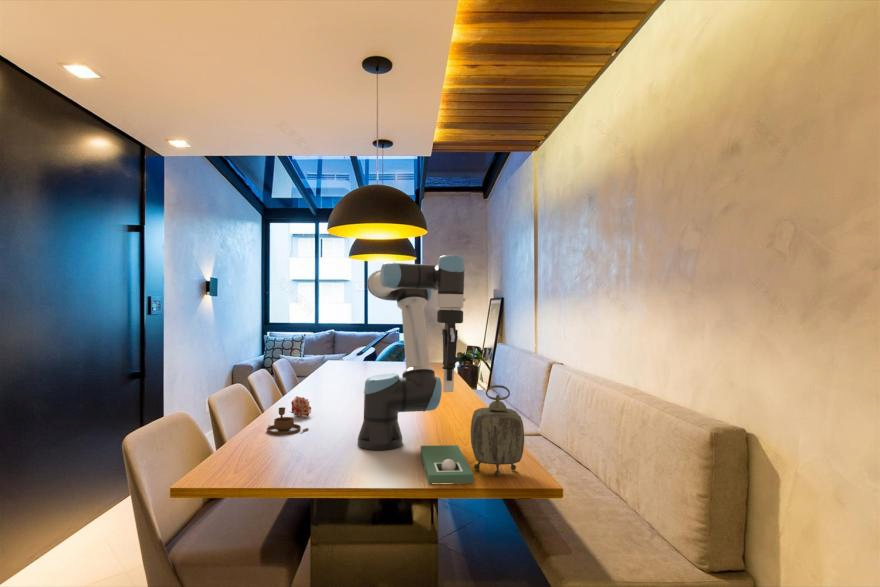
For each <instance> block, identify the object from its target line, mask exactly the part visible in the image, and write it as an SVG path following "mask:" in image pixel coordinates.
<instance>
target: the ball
mask: <svg viewBox="0 0 880 587" xmlns="http://www.w3.org/2000/svg"><path fill="white" fill-rule="evenodd" d="M455 468H456V465H455V462H454V461H453V460H451V459H446V460H444V461H443V463H442V470H443V471H455Z"/></svg>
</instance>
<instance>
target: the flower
mask: <svg viewBox="0 0 880 587" xmlns="http://www.w3.org/2000/svg"><path fill="white" fill-rule="evenodd" d="M290 403H291V404H290V405H291V411H288V412H289V413H291V414H292V415H293V416H295V417H297V418H298V419H299V418H300V417H303V416H305V417H308V416H309V415H310V414H312V406H310V400H309V399H308V398H307V399H306V398H305V397H301V396H294V399H293V400H292V401H291V402H290Z"/></svg>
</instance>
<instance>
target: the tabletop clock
mask: <svg viewBox="0 0 880 587" xmlns="http://www.w3.org/2000/svg"><path fill="white" fill-rule="evenodd" d="M496 388H499V389H500V388H501V389H503V390H506V391H507V393H508V394H507V395H505V396H503V397H500V395H499V394H496V395H495V397H493V396H491V395H489V394H488V392H489V391H490V390H491V389H496ZM510 394H511V392H510V390H509V388H507V386H504V385H500V384H499V385H498V384H497V385H496V384H495V385H490V386H489V387H488V388H487V389H486V390H485V395H486V397H487V398H488V399H489V400H492V401H491V402H490V403H489V406H488V407H480V408H478V409H475V410H474V411H473V414H472V417H471V424H470V443H471V448H472V453H473V455H474V458H475V460H476V462H477V463H475V464H474V465H473V468H474V470H475V471H476V470H479V469H480V468H481V467H480V465H481V463H482V464H487V465H495V466H496V467H495V468H496V470H495V471H494V475H495V477H500V476H501V471H500V468H499V465H504V466H505V465H510V469H511V471H515V470H516V469H517V465H516V464H517V463H520V462H521V460H522V458H523V454H524V447H525V430H524V422H523V419H522V417H521V415H520V414H519V413H518V412H517V411H516V410H514V409H512V408H508V407H507V406H506V405H505V403H504V402H503V400H506V399H508V398H509V397H510V396H511V395H510Z"/></svg>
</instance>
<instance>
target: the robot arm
mask: <svg viewBox="0 0 880 587" xmlns="http://www.w3.org/2000/svg"><path fill="white" fill-rule="evenodd" d="M465 271H466V268H465V259H464V257H463V256H461V255H454V254H452V255H451V254H450V255H449V254H447V255H446V254H445V255H441V256H439V258H438V263H437V264H424V263H422V264H421V263H405V262H404V263H402V262H393V261H392V262H384V263H383V264H382V265H381V268H380V269H379V270H376V271H374V272H372V273H371V274H370V275H369V276H368V279H367V281H366V282H367V283H366V284H367V285H366V286H367V289H368V291H369V293H370V294H371V295H373V297H375V298H377V299H381V300H383V301H391V302H392V301H393V302H396V303H397V304H396V306H397V307H398V309H400V310H401V317H402V331H403V332H402V334H403V343H404V344H403V346H404V357H405V358H404V359H405V370H404V371H403V372H402V374H401V377H400V376H399V374H398V373H396V372H395V373H380V374H376V375H371V376H369V377H367V379H366V380H365V382H364V389H363V398H364V399H363V422H362V424H361V427H360V430H359V433H358V436H357V446H358V447H360V448H361V449H365V450H370V451H388V450H389V451H390V450H394V449H398V448H399V447H401V446H402V445H403V435H402V431H401V428H400V424H399V421H398V420H399V419H398V418H399V413H410V412H411V413H414V412H428V411H434V410H436V409H437V408H438V407H439V405H440V403H441V397H442V391H443V393H454V384H455V383H454V382H455V380H454V379H455V376H454V375H455V368H456V365H457V364H456V362H457V361H456V360H457V343H458V336H459V335H458V329H456V324H463V323H464V311H463V310H462V309H463V308H464V302H466V301H467V300H466V297H465V296H464V294H465V293H464V292H465V291H464V290H465ZM432 290H433V291H437V300H436V301H437V302H436V303H437V305H436V307H437V308H438V310H437V312H436V316H437V317H436V321H437V323H440V324H444V329H442V331H441V332H442V333H441V334H442V352H443V353H442V365H443V366H442V370H443V383H442V379H441V378H440V377H439V376H436V374H435V370H434V369H433V368H432V367H431V366H430V357H429V345H428V335H427V325H426V316H425V307H426V306H427V305H428V302H430V300H431V296H432ZM442 385H443V386H442ZM442 387H443V388H442Z"/></svg>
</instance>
